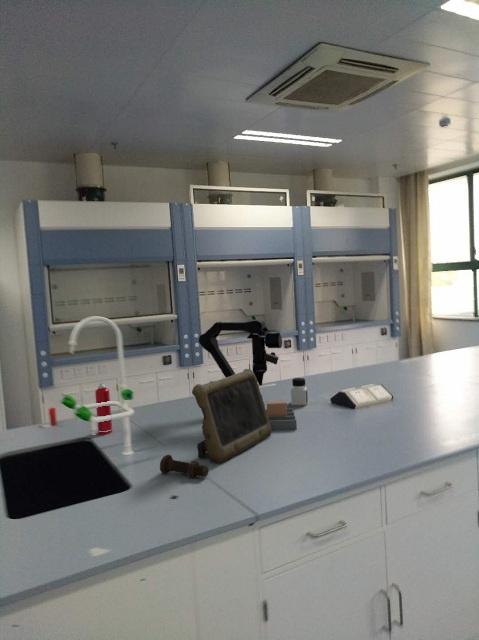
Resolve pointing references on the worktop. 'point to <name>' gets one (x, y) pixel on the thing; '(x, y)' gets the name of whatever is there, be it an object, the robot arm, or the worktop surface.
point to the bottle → (103, 408)
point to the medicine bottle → (299, 392)
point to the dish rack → (283, 421)
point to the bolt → (183, 467)
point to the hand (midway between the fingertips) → (260, 383)
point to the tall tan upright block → (277, 409)
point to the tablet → (231, 415)
